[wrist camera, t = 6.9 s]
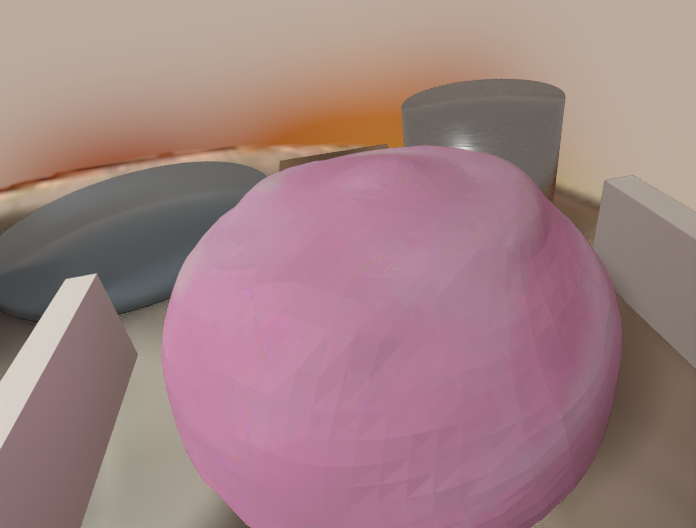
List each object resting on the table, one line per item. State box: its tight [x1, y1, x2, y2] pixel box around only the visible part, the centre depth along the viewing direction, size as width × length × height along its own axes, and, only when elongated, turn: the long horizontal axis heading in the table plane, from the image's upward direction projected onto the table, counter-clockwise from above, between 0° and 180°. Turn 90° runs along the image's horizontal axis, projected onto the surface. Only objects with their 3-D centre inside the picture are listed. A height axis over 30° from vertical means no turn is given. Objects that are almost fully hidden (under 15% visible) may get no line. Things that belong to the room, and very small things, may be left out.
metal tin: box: [402, 79, 565, 204], centre depth 19 cm, size 6×6×8 cm
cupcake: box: [162, 145, 623, 528], centre depth 11 cm, size 9×9×10 cm
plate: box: [0, 162, 266, 321], centre depth 30 cm, size 17×17×1 cm
